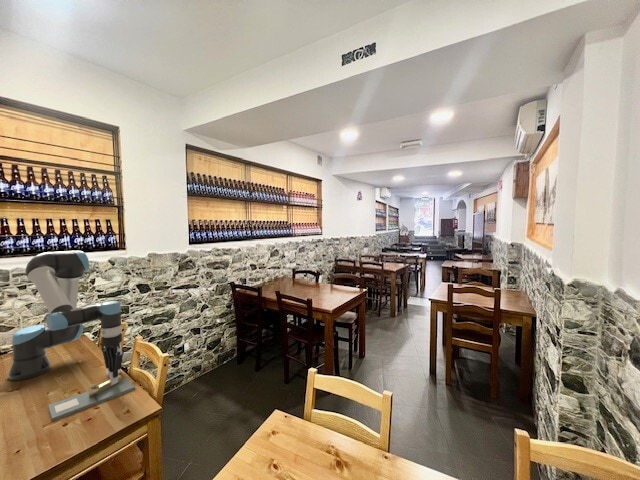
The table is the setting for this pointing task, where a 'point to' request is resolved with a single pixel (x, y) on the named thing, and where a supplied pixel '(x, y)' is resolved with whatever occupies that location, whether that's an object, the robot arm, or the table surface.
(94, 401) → the door board
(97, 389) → the latch bar
